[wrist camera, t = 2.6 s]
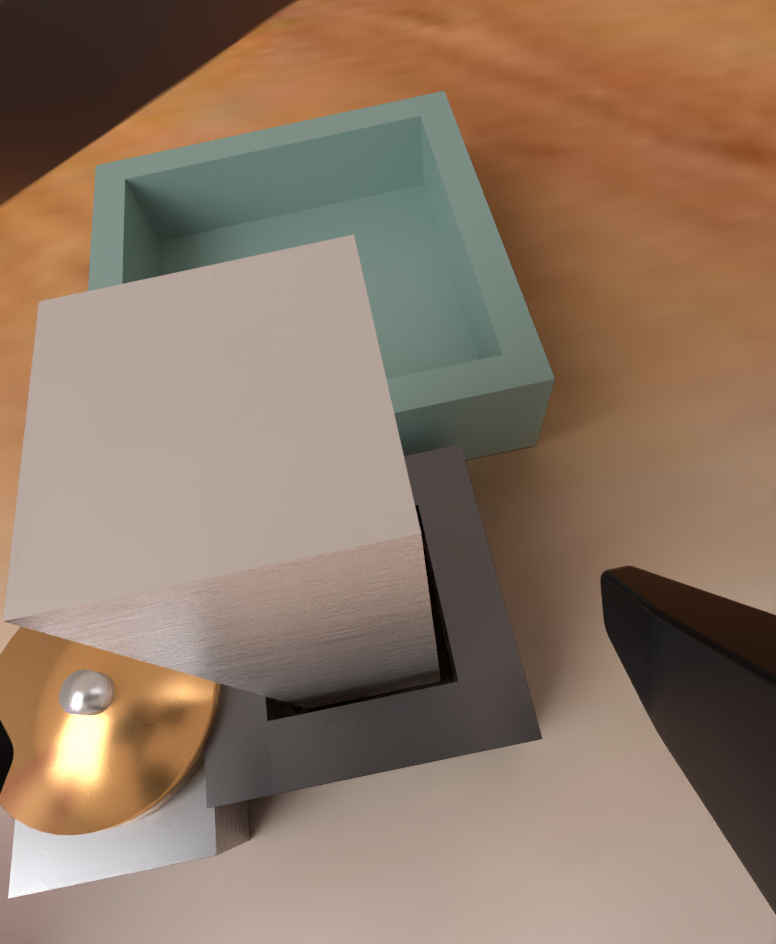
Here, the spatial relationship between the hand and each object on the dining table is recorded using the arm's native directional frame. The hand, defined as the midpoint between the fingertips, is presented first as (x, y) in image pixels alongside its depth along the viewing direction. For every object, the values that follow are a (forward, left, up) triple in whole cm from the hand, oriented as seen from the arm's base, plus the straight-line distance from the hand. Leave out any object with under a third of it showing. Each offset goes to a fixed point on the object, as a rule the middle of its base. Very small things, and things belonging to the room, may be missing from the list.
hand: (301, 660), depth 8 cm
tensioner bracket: (+3, 0, -10) cm, 10 cm away
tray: (+8, -11, -10) cm, 17 cm away
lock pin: (+1, -2, -10) cm, 10 cm away
